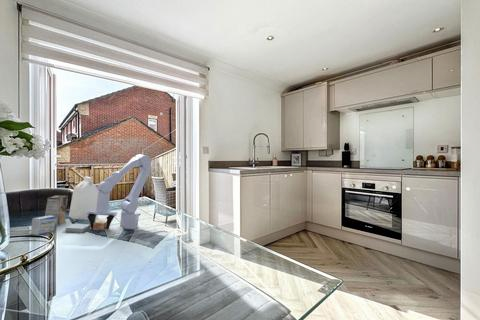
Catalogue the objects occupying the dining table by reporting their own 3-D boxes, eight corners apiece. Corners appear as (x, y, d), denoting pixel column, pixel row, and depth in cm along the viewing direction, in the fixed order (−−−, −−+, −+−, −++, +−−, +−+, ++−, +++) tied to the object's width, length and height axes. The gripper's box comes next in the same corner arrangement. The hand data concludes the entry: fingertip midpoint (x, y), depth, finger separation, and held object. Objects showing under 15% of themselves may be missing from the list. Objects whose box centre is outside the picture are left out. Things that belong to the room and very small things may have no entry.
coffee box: (52, 223, 130) (56, 194, 131) (65, 223, 132) (68, 195, 132) (43, 227, 122) (46, 197, 122) (57, 228, 123) (60, 198, 123)
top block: (90, 228, 125) (90, 224, 125) (82, 232, 117) (82, 228, 117) (74, 227, 124) (74, 223, 124) (65, 231, 116) (65, 227, 116)
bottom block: (92, 231, 126) (93, 227, 126) (83, 237, 116) (83, 233, 116) (72, 230, 125) (73, 226, 125) (61, 236, 115) (61, 232, 115)
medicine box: (37, 237, 108) (39, 219, 108) (29, 236, 109) (32, 217, 109) (54, 233, 116) (56, 216, 116) (46, 231, 117) (48, 214, 117)
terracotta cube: (106, 230, 129) (107, 221, 129) (102, 232, 124) (103, 223, 124) (96, 229, 128) (97, 220, 128) (92, 232, 123) (93, 222, 123)
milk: (97, 218, 149) (102, 178, 149) (77, 220, 139) (82, 178, 140) (88, 214, 155) (92, 176, 156) (68, 216, 146) (73, 175, 146)
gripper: (84, 203, 121) (81, 229, 121) (114, 205, 123) (111, 231, 123) (91, 201, 128) (88, 225, 128) (119, 203, 130) (116, 227, 130)
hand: (100, 228), depth 126 cm, fingers open, 7 cm apart
